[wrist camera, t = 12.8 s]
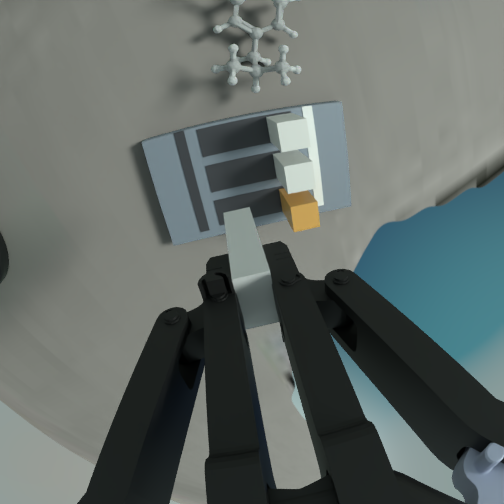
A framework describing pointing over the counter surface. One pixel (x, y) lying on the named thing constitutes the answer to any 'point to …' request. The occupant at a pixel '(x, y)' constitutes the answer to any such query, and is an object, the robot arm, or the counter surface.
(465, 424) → the robot arm
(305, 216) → the toggle
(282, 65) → the molecular model
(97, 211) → the counter surface
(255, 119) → the breaker panel
